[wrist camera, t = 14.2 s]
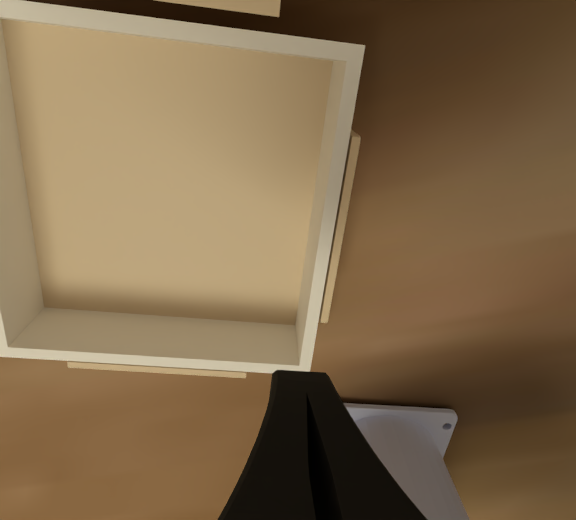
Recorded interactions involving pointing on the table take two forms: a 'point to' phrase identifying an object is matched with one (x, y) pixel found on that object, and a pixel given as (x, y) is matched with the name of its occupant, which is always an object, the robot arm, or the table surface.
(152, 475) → the table surface
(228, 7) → the flap
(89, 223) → the carton
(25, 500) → the table surface
